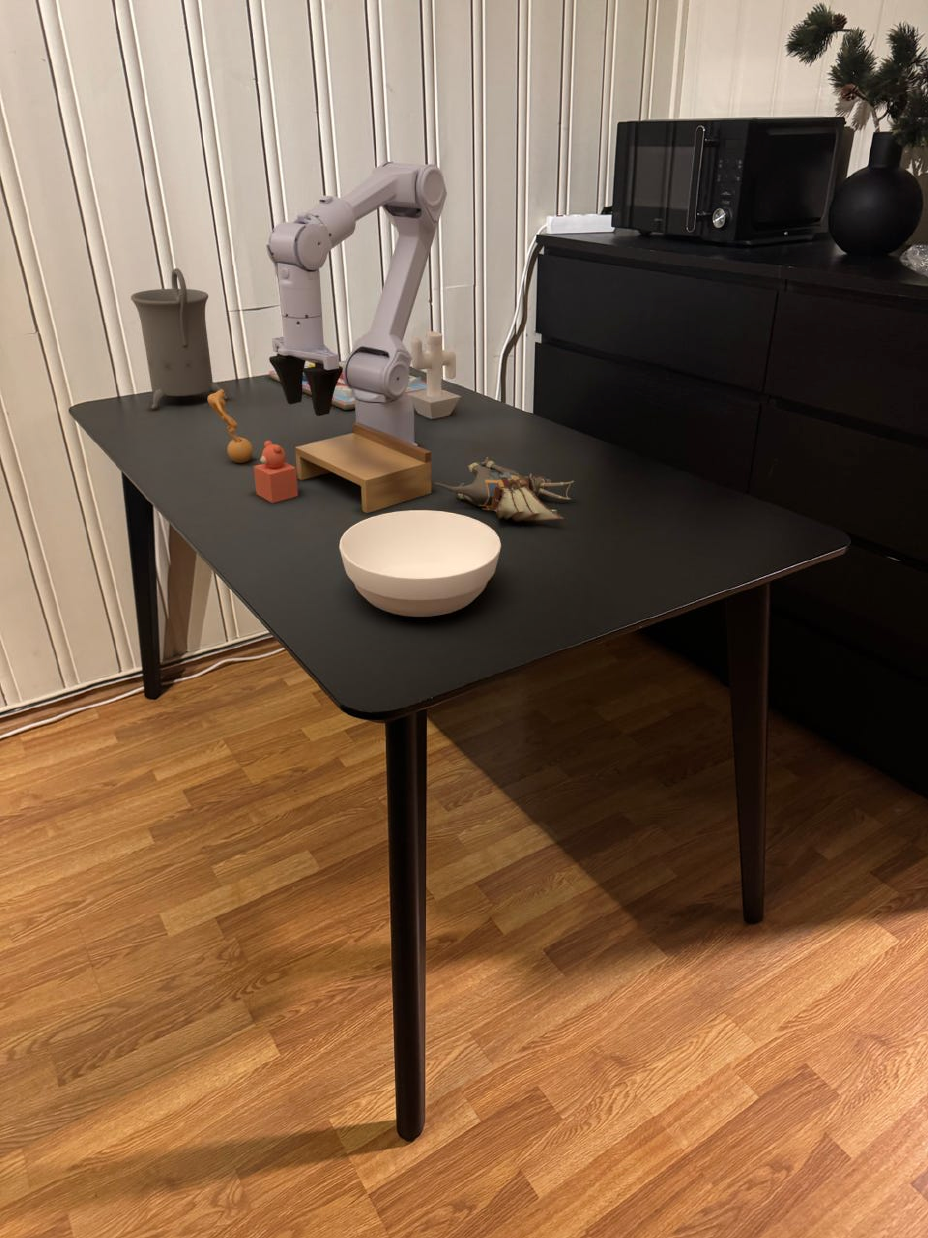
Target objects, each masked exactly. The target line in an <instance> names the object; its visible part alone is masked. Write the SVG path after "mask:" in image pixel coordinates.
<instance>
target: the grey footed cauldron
mask: <svg viewBox="0 0 928 1238" xmlns="http://www.w3.org/2000/svg"><path fill="white" fill-rule="evenodd" d="M178 283H179V285H178ZM171 286H172V288H157V289H149V290H148V289H147V290H143V291H142V290H141V291H139V292H135V293H133V294H131V296H130V300H131V301H132V302H133V304H134V306H135V307H136V309H137V312H138V317H139V319H140V324H141V330H142V331H141V332H142V337H143V343H144V349H145V356H146V361H147V369H148V374H149V381H150V382H149V383H150V387H151V391H152V392H153V396H152V405H151V406H150V408H151V410H156V409H158V408H159V405H160V404H161V402H162V401H163V400H164V399H165V398H166V396H167V397H187V396H195V395H201V394H205V393H208V392H210V393H211V394H213V393H216V392H218V391H219V390H220V389H223V388H222V386H220V385H219V384H217V383H216V382H213V372H212V365H211V364H212V363H211V356H210V348H209V340H208V339H209V338H208V331H207V322H206V305H207V301H208V299H209V294H208V293H207V292H205V291H203V290H198V289H191V288H187V284H186V280H185V277H184V275H183V272H182V270H181V269H179V268H178V267H175V268H173V270H172V272H171ZM228 399H229V397H228V395H225V396H224V400H225V401H227V400H228Z"/></svg>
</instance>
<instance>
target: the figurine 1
mask: <svg viewBox="0 0 928 1238" xmlns="http://www.w3.org/2000/svg"><path fill="white" fill-rule="evenodd" d="M224 396H227V394H226V392H225V390H224V389H223V388H222V389H220V390H219V391H218V392H216V393H211V394H209V395H208V396H207V402H208V403H207V404H208V405H209V406H210V407H211V408H212V410H213V411H214V412H215V413H216V415H217V416H218V417H220V419H222V420H223V421H224V423H225V424H227V426H226V430H227V433H228V434H229V437H231V438H232V439H231V441H230V442H229V443H228V445H227V449H226V450H227V454H228V457H229V459H231V460H232V461H233V462H235V463H239V464H243V463H246V462H249V461H250V460H251V459H252V457H253V455H254V454H253V453H254V447H253V444H252V443H251V441H249V440H248V439H246V438H244V437H241V436H239V435H235V434H234V432H235V430H237V428H238V423H237V422H236V421H235V419H234V418H232V417H231V415H229V414H227V411H226V404H227V403H226V400H224Z"/></svg>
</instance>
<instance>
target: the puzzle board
mask: <svg viewBox="0 0 928 1238" xmlns="http://www.w3.org/2000/svg"><path fill="white" fill-rule="evenodd" d="M344 363H345V360H339V366H341V367H342V368H343V367H344ZM309 367H315V364H314V363H311V362H309V363H308V365H305V366H304V368H309ZM268 374H269V378H270V379H272V380H274V381H276V382H279V383H281V382H280V379H279V377H278V375H277V373H276V371H275V370H269V371H268ZM423 390H427V381H425V380H422V377H421V376H419V375H417V374H413V373H411V372H409V382H408V386H407V388H406V390H405V392H404V393H406V394H408V393H413V392H418V391H423ZM302 393H304V394H307V395H309V396H311V397H312V394H311V389H310V386H309V383H308V380H307V378H306V376H305V374H304V372H303V380H302ZM331 406H334V407H337V408H339V409H342V410H344V411H350V410H355V396H354V395H351V388H349V387H348V386H347V385H346V383H345V381H344V378H343V373H342V374H341V376H340V378H339V380H338V382H337V384H336V387H335V390H334V394H333V398H332V404H331Z"/></svg>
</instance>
